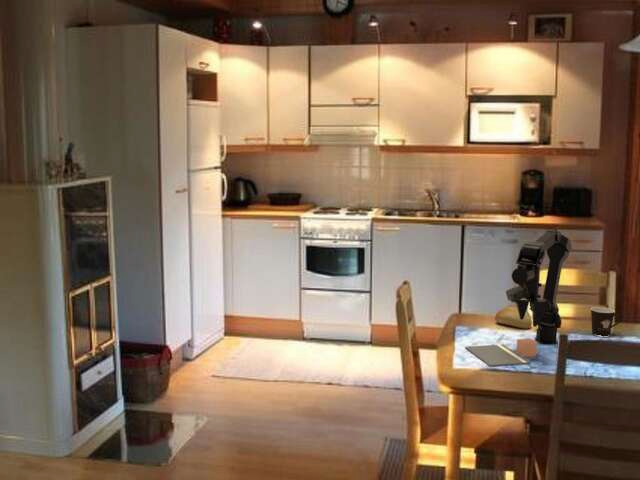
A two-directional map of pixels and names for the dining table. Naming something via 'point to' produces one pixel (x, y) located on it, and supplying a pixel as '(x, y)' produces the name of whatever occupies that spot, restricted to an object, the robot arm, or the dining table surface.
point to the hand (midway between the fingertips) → (528, 322)
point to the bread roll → (513, 317)
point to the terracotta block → (526, 347)
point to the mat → (497, 355)
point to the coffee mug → (603, 320)
